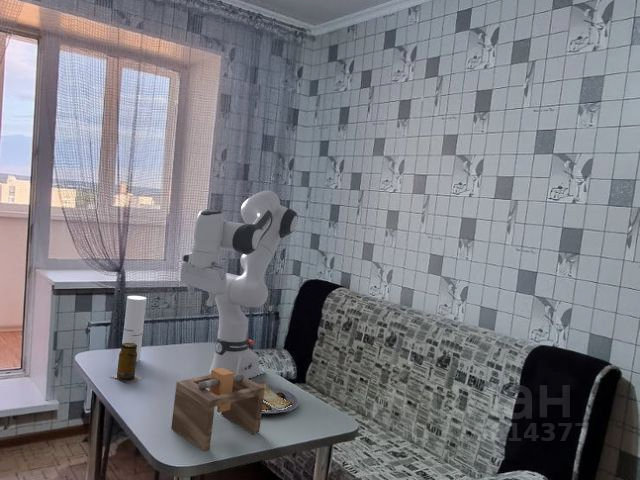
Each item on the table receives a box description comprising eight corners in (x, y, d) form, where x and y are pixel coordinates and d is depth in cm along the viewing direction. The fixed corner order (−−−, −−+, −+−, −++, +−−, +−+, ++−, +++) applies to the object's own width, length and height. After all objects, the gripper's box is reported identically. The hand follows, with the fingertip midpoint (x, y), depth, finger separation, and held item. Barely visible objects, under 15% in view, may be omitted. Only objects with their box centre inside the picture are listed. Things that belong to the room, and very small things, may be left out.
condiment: (126, 372, 184) (130, 340, 184) (143, 378, 181) (147, 346, 180) (110, 377, 178) (114, 344, 177) (127, 383, 174) (131, 350, 173)
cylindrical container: (123, 356, 201) (130, 295, 200) (141, 357, 202) (148, 296, 200) (118, 361, 194) (125, 298, 192) (137, 363, 195) (144, 300, 193)
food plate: (215, 392, 176) (216, 382, 176) (271, 385, 190) (272, 377, 190) (249, 424, 156) (251, 413, 156) (309, 414, 171) (310, 404, 170)
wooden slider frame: (226, 413, 161) (232, 364, 160) (259, 432, 150) (265, 381, 149) (171, 428, 146) (177, 374, 145) (203, 451, 135) (210, 393, 134)
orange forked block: (218, 403, 151) (222, 367, 150) (230, 409, 147) (234, 372, 146) (207, 406, 148) (211, 369, 147) (219, 412, 144) (223, 375, 143)
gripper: (233, 265, 155) (228, 309, 156) (195, 255, 169) (190, 295, 169) (217, 265, 150) (211, 310, 151) (179, 254, 164) (174, 296, 165)
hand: (200, 302), depth 161 cm, fingers open, 8 cm apart
